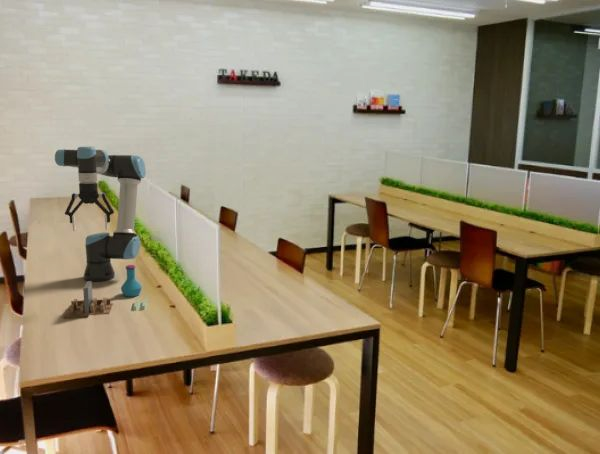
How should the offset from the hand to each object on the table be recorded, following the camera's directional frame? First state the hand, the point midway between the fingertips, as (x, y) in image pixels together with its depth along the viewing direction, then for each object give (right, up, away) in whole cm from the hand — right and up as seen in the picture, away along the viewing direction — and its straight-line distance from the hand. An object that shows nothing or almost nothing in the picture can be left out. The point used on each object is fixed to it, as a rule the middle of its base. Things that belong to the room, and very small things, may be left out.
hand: (90, 230), depth 245 cm
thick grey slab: (+3, -34, -9) cm, 35 cm away
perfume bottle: (+14, -31, +12) cm, 37 cm away
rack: (+3, -35, -9) cm, 36 cm away
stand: (+23, -34, -3) cm, 41 cm away
